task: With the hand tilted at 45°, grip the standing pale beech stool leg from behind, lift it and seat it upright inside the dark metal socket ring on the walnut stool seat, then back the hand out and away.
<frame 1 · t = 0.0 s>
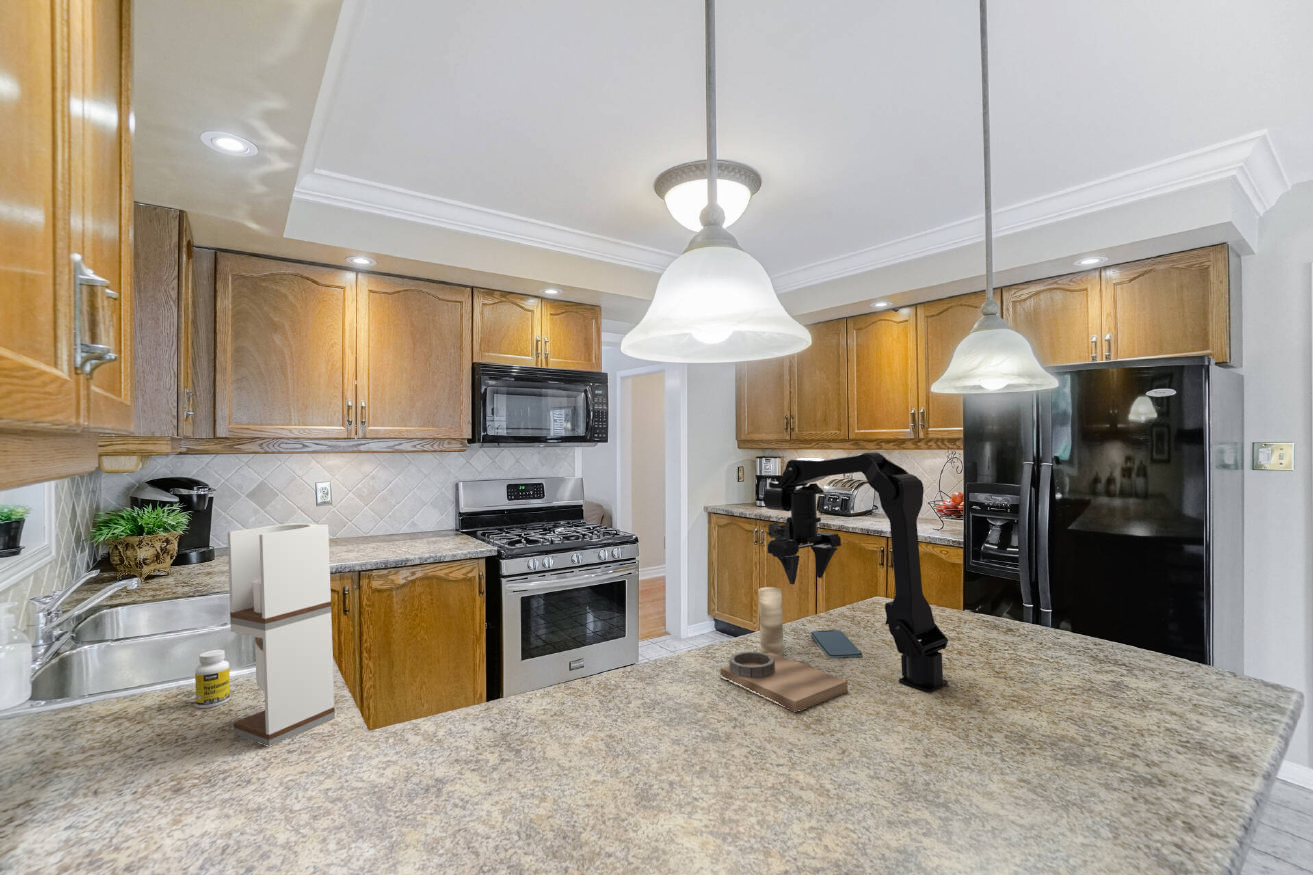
hand: (806, 580, 139), 15 cm above the countertop, tool pointing down, fingers open, 9 cm apart
smartphone: (835, 649, 138), on the countertop
stool leg: (772, 652, 135), on the countertop
supplement bottle: (213, 703, 118), on the countertop
display case: (285, 727, 107), on the countertop
stool seat: (781, 684, 117), on the countertop
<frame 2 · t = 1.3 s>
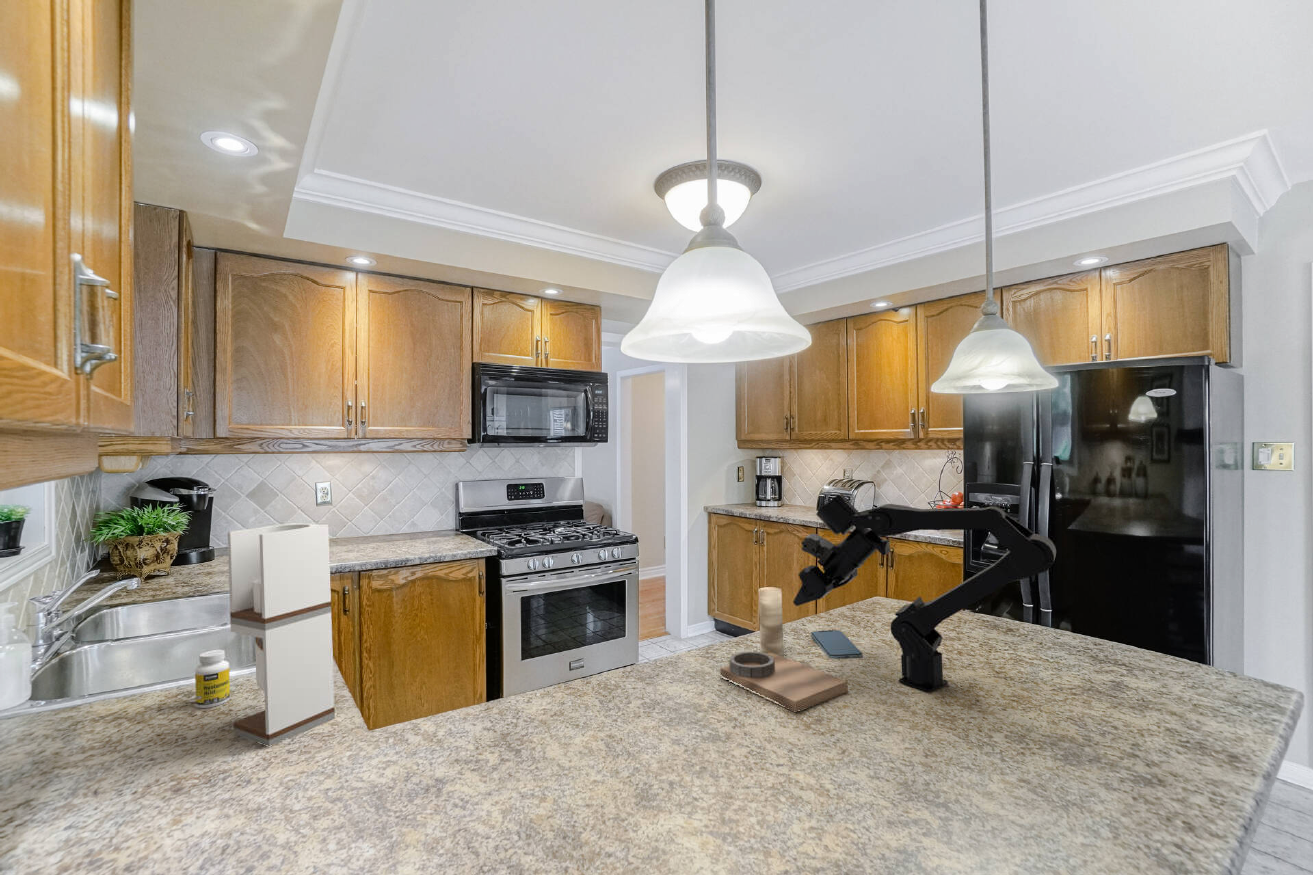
hand: (804, 598, 130), 13 cm above the countertop, tool tilted 45°, fingers open, 9 cm apart
nothing on the countertop moved.
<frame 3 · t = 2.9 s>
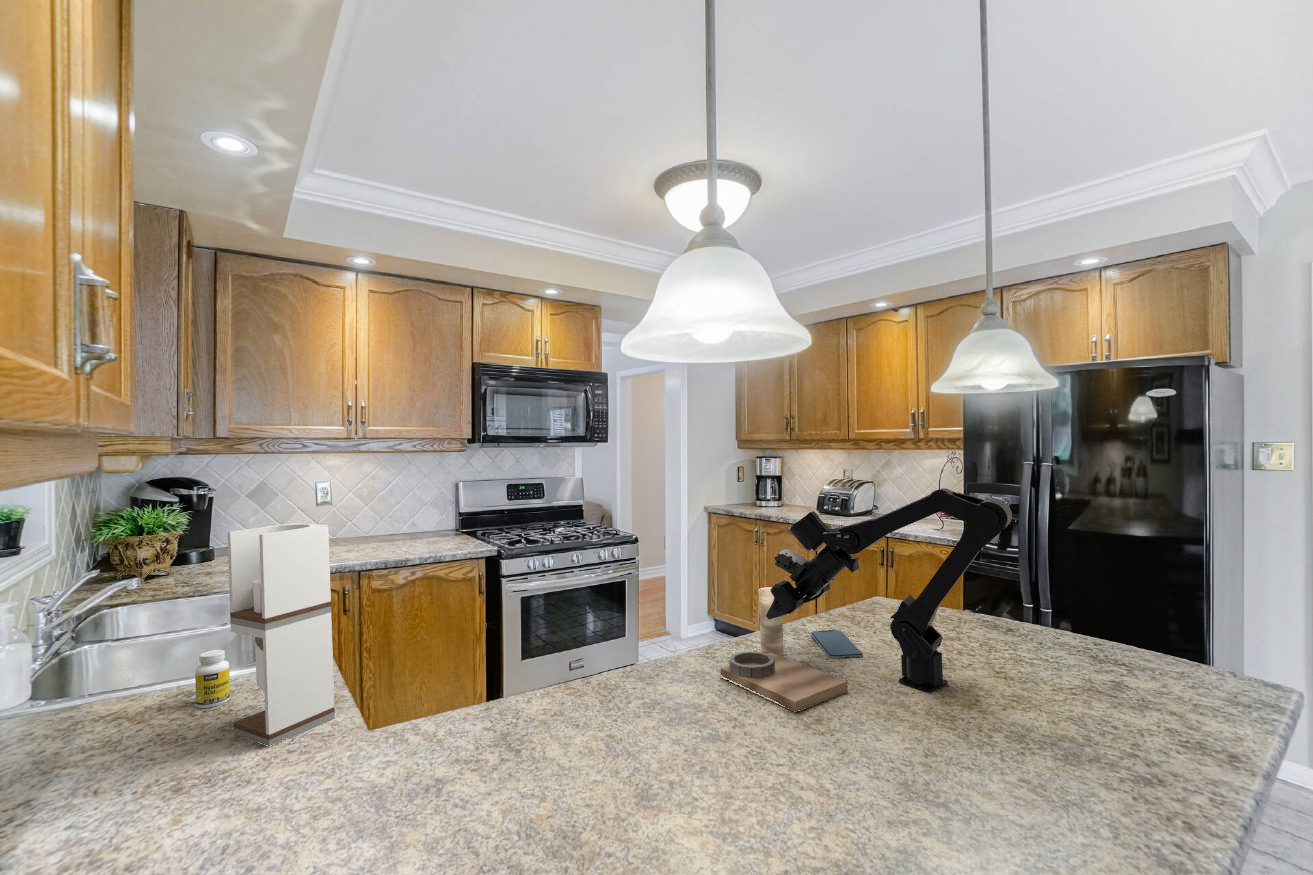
hand: (777, 612, 134), 9 cm above the countertop, tool tilted 45°, fingers open, 9 cm apart
nothing on the countertop moved.
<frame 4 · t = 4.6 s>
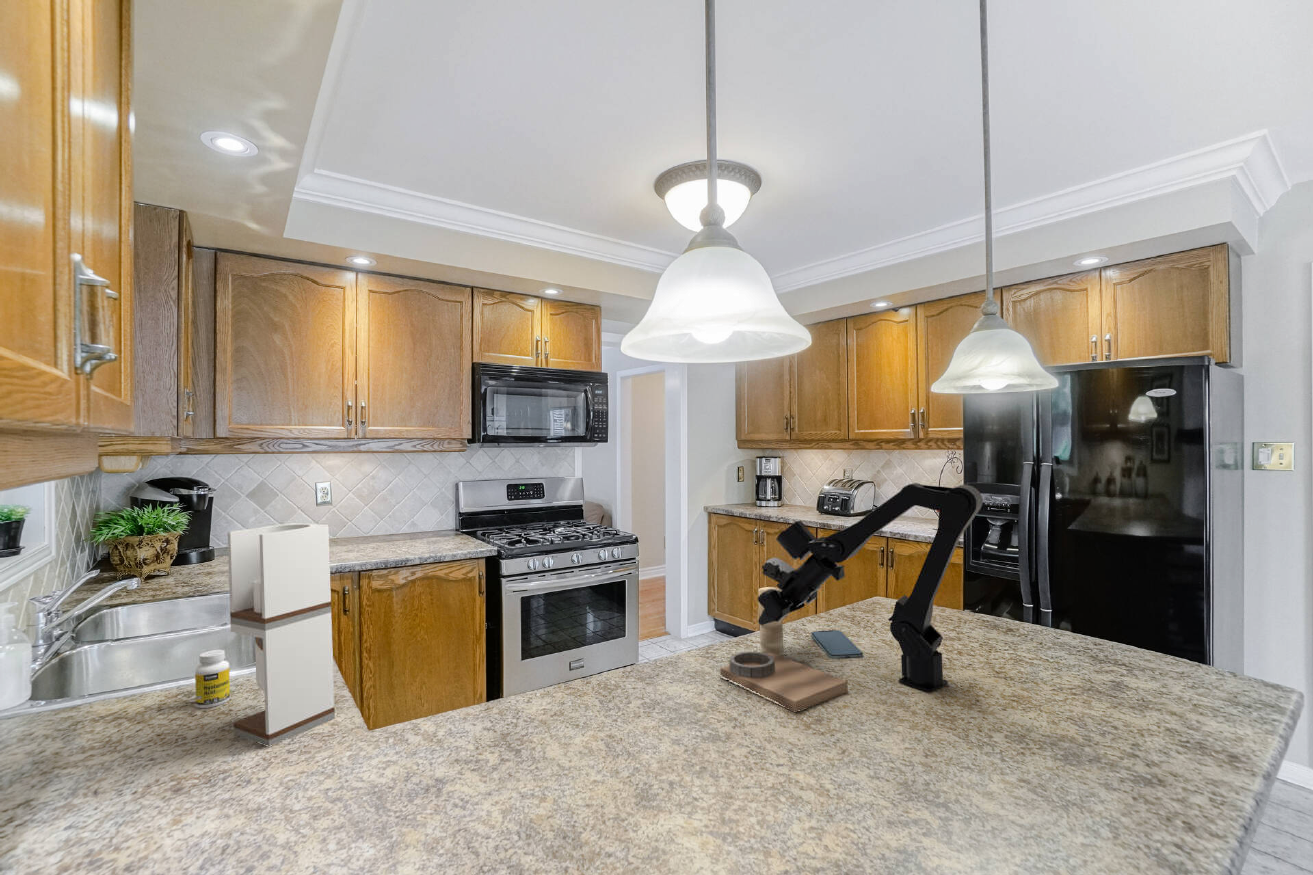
hand: (765, 620, 135), 7 cm above the countertop, tool tilted 45°, fingers closed on stool leg, 5 cm apart
stool leg: (772, 652, 135), on the countertop, touching gripper
everything else where it was.
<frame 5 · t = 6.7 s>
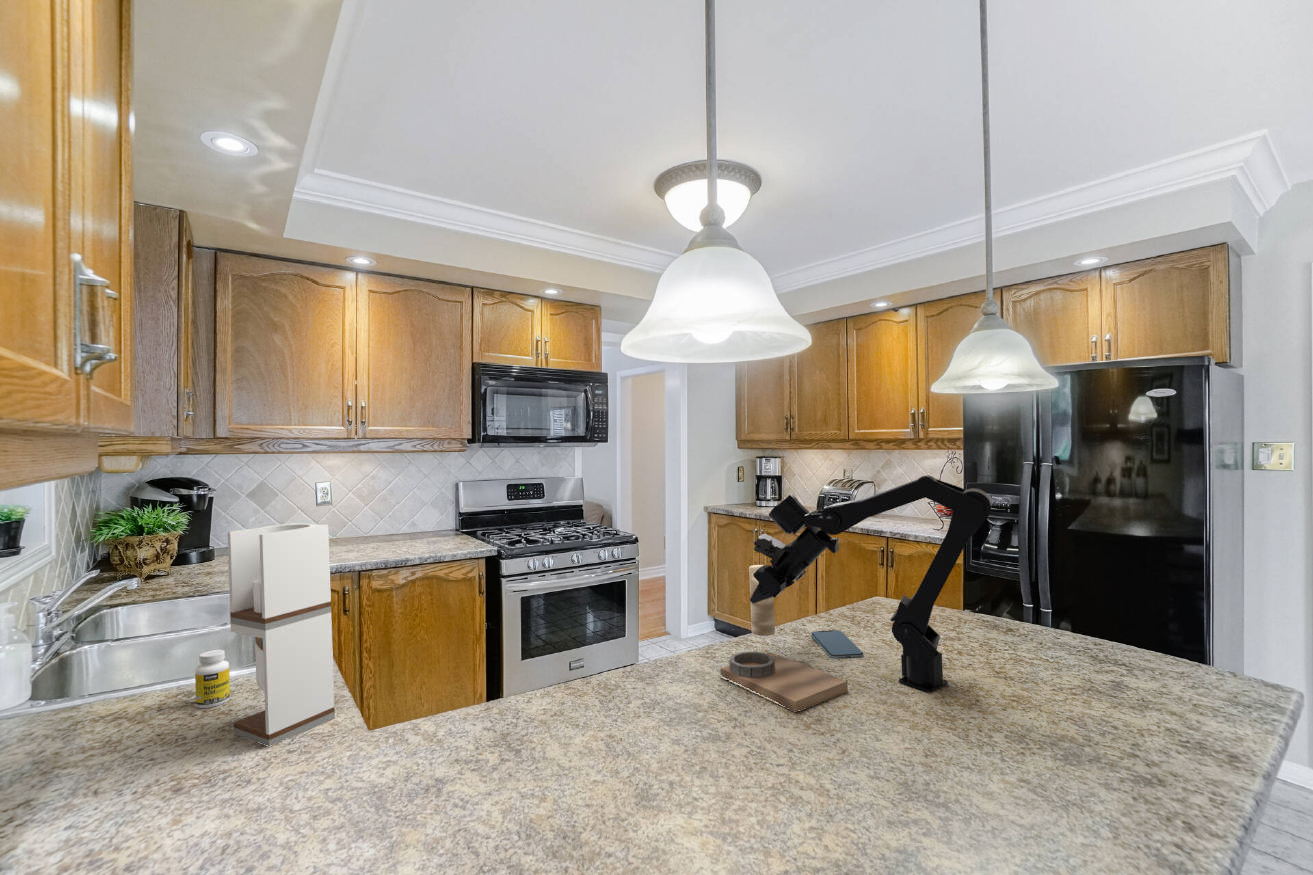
hand: (755, 598, 132), 13 cm above the countertop, tool tilted 45°, fingers closed on stool leg, 5 cm apart
stool leg: (763, 631, 131), point 6 cm above the countertop, touching gripper
everything else where it was.
when the fingers open (10 cm above the countertop, at t = 9.1 s): stool leg stays where it is, resting on stool seat.
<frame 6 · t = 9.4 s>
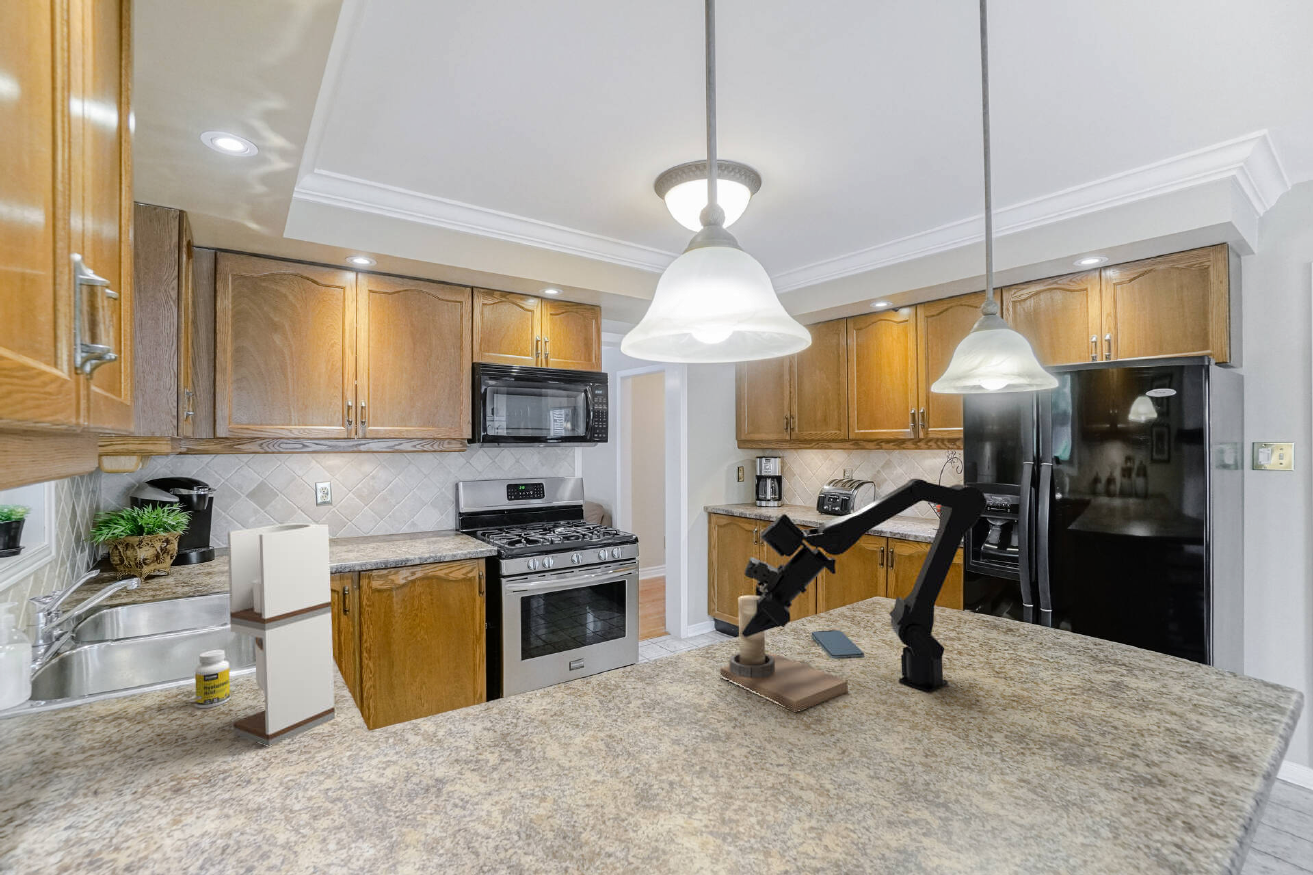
hand: (743, 628, 121), 10 cm above the countertop, tool tilted 45°, fingers open, 8 cm apart
stool leg: (752, 668, 120), point 2 cm above the countertop, touching stool seat
everything else where it was.
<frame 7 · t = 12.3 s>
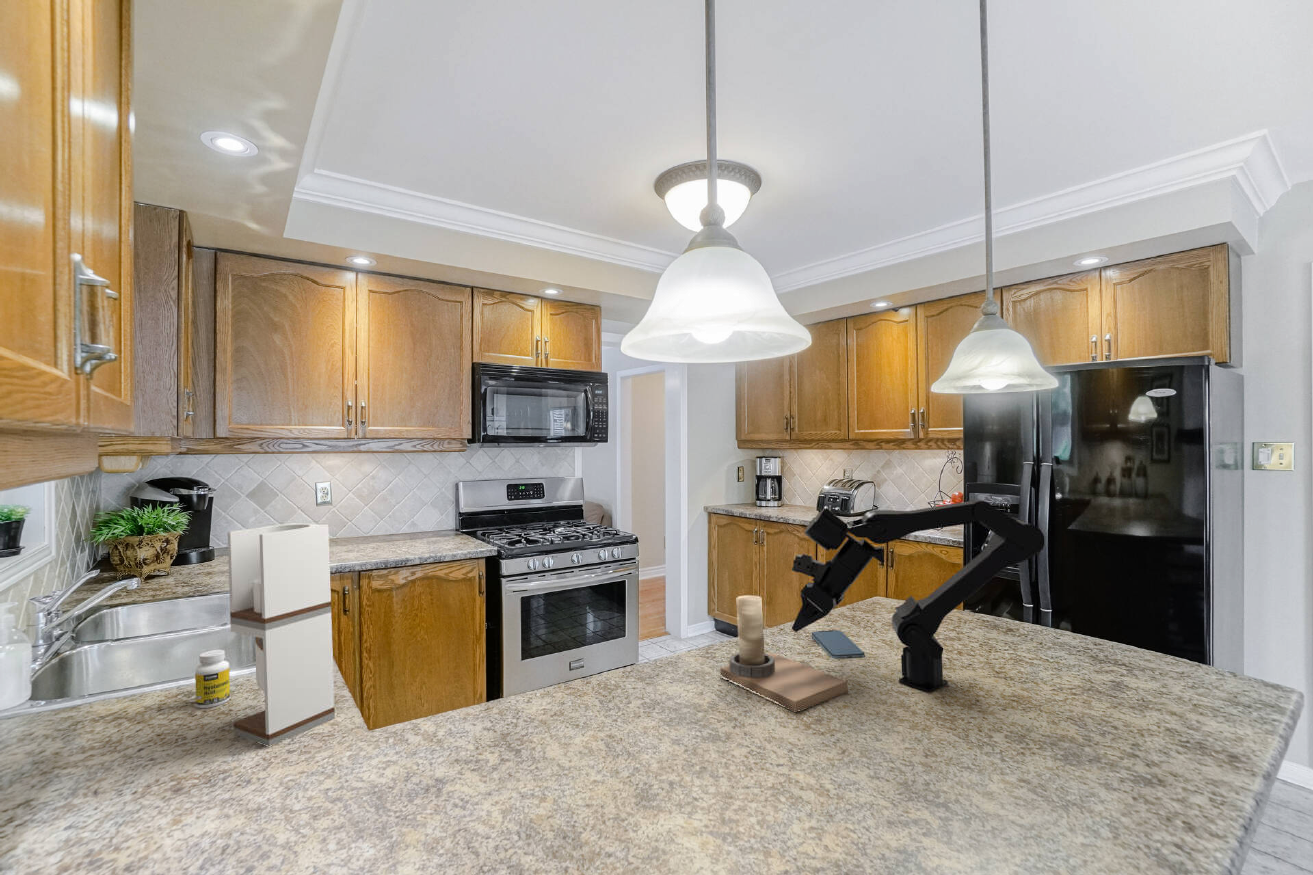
hand: (798, 626, 120), 10 cm above the countertop, tool tilted 40°, fingers open, 9 cm apart
nothing on the countertop moved.
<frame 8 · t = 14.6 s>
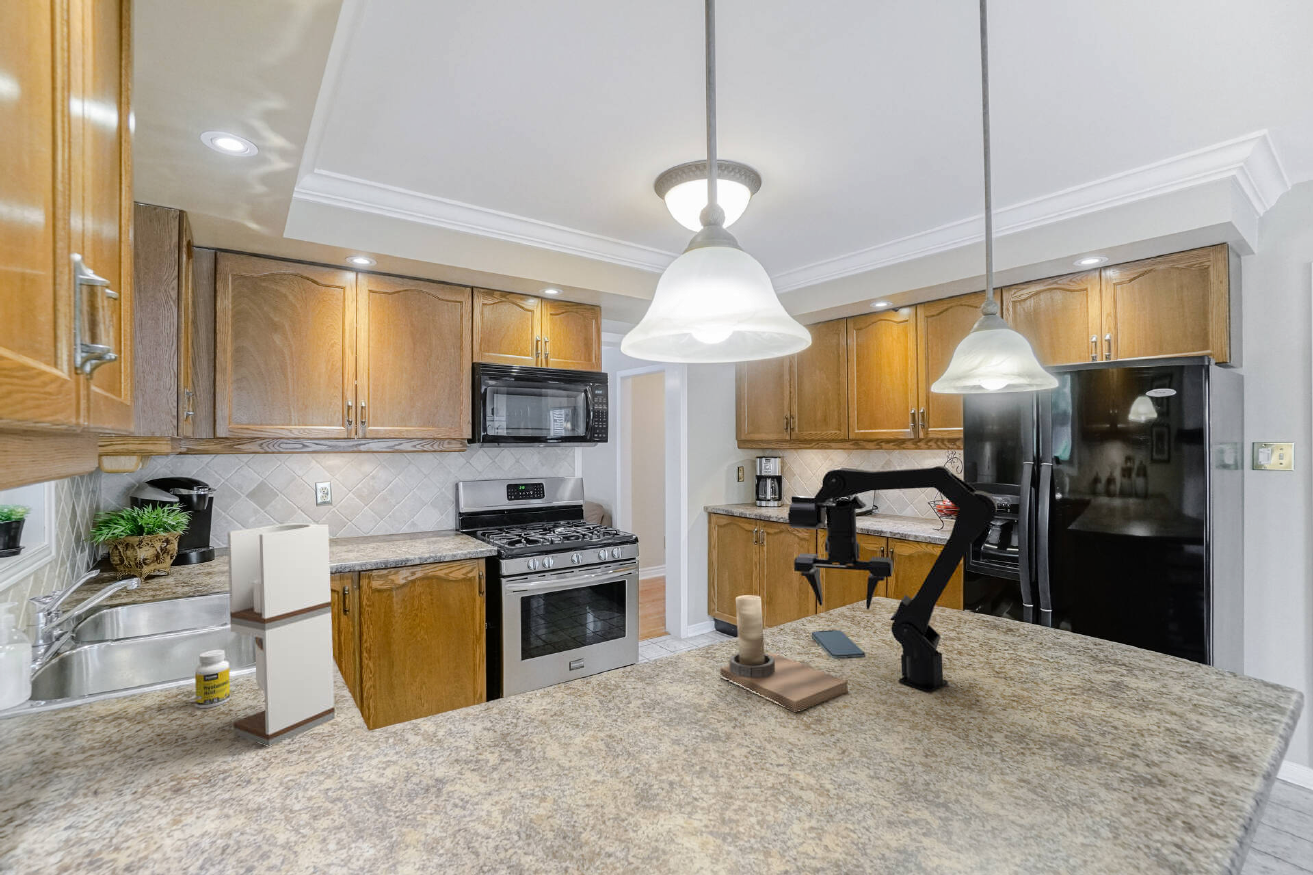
hand: (844, 606, 123), 13 cm above the countertop, tool pointing down, fingers open, 9 cm apart
nothing on the countertop moved.
at the end: stool leg 0.1 cm from the target spot on the stool seat, point 2.1 cm above the stool seat's base; stool leg tilted 2°; the gripper is holding nothing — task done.
